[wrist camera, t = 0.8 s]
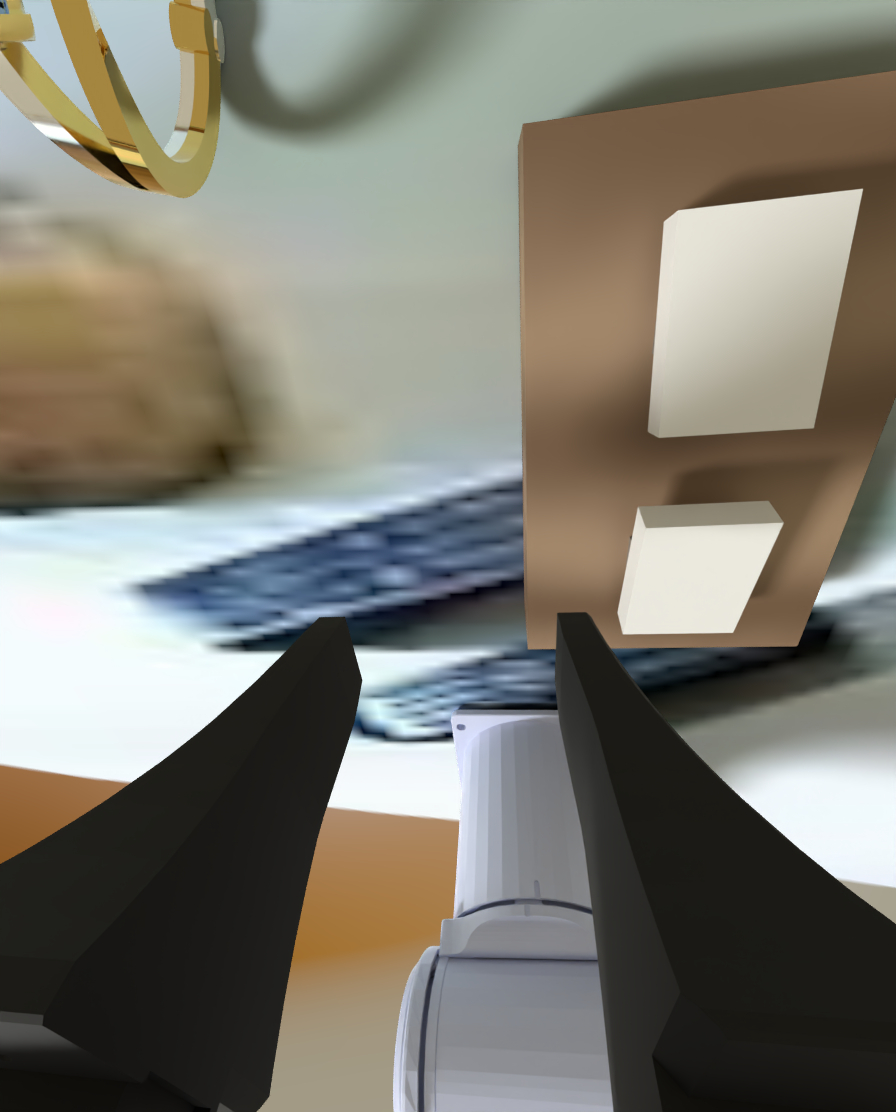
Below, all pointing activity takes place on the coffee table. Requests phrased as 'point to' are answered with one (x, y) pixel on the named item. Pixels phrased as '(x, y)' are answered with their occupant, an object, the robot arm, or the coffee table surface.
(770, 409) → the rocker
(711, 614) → the block
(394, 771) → the coffee table surface
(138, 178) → the ring
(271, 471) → the coffee table surface
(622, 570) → the switch box
